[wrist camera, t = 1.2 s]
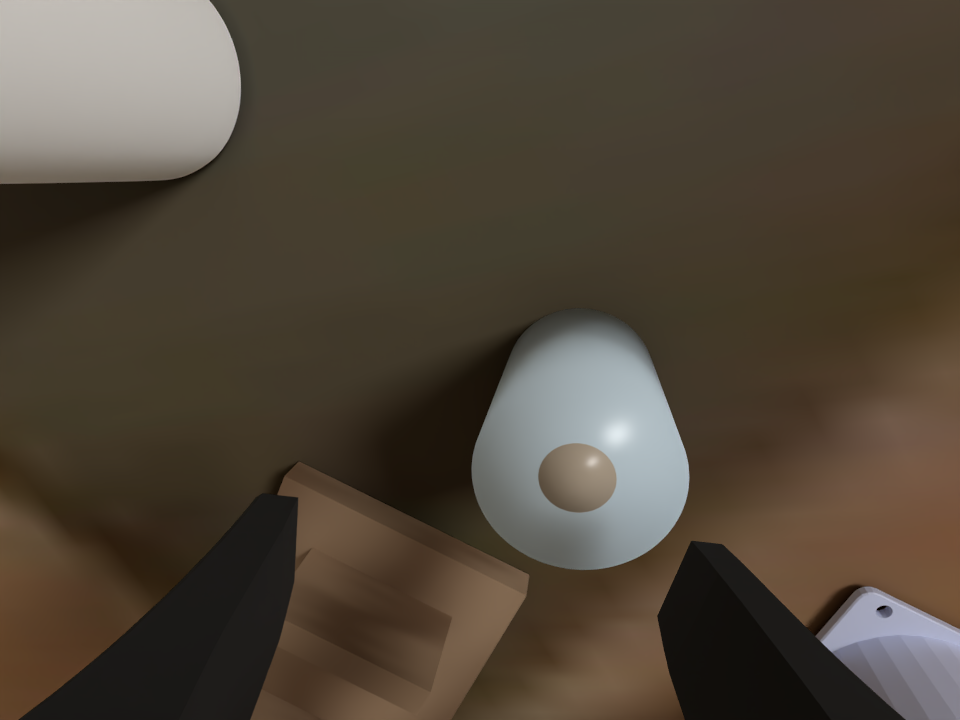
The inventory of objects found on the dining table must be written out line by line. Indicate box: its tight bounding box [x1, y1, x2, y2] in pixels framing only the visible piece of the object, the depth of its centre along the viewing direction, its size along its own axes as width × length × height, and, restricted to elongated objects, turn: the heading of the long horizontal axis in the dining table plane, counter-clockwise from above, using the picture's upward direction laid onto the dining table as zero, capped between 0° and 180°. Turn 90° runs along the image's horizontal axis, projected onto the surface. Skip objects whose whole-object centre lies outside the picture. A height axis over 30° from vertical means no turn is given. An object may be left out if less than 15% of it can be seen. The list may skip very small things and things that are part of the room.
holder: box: [250, 462, 529, 720], centre depth 23 cm, size 10×14×5 cm
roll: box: [472, 308, 689, 570], centre depth 17 cm, size 5×5×7 cm
